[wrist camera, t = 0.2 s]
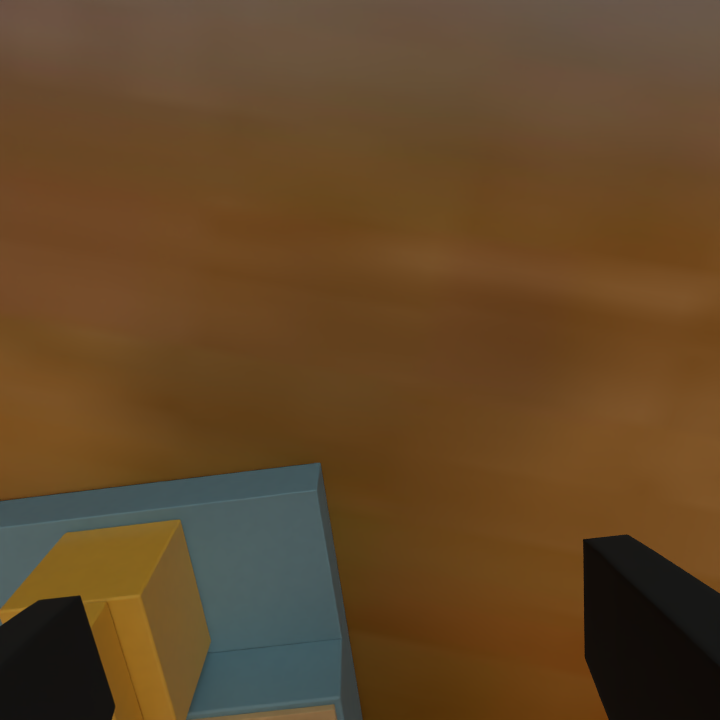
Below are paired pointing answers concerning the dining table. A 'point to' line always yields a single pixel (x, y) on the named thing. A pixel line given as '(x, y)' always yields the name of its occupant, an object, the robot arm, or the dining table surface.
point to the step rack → (229, 582)
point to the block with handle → (131, 611)
